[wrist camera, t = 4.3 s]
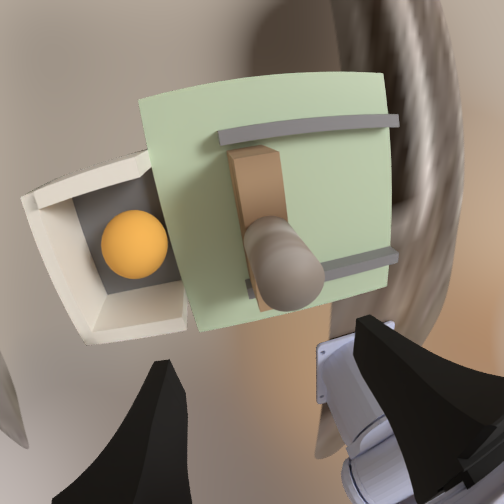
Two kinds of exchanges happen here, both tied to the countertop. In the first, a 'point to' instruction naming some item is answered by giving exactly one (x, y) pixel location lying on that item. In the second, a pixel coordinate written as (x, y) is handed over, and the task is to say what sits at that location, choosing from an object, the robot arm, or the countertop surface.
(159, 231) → the ball
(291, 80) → the pitch
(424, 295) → the countertop surface
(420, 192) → the countertop surface
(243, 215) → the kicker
